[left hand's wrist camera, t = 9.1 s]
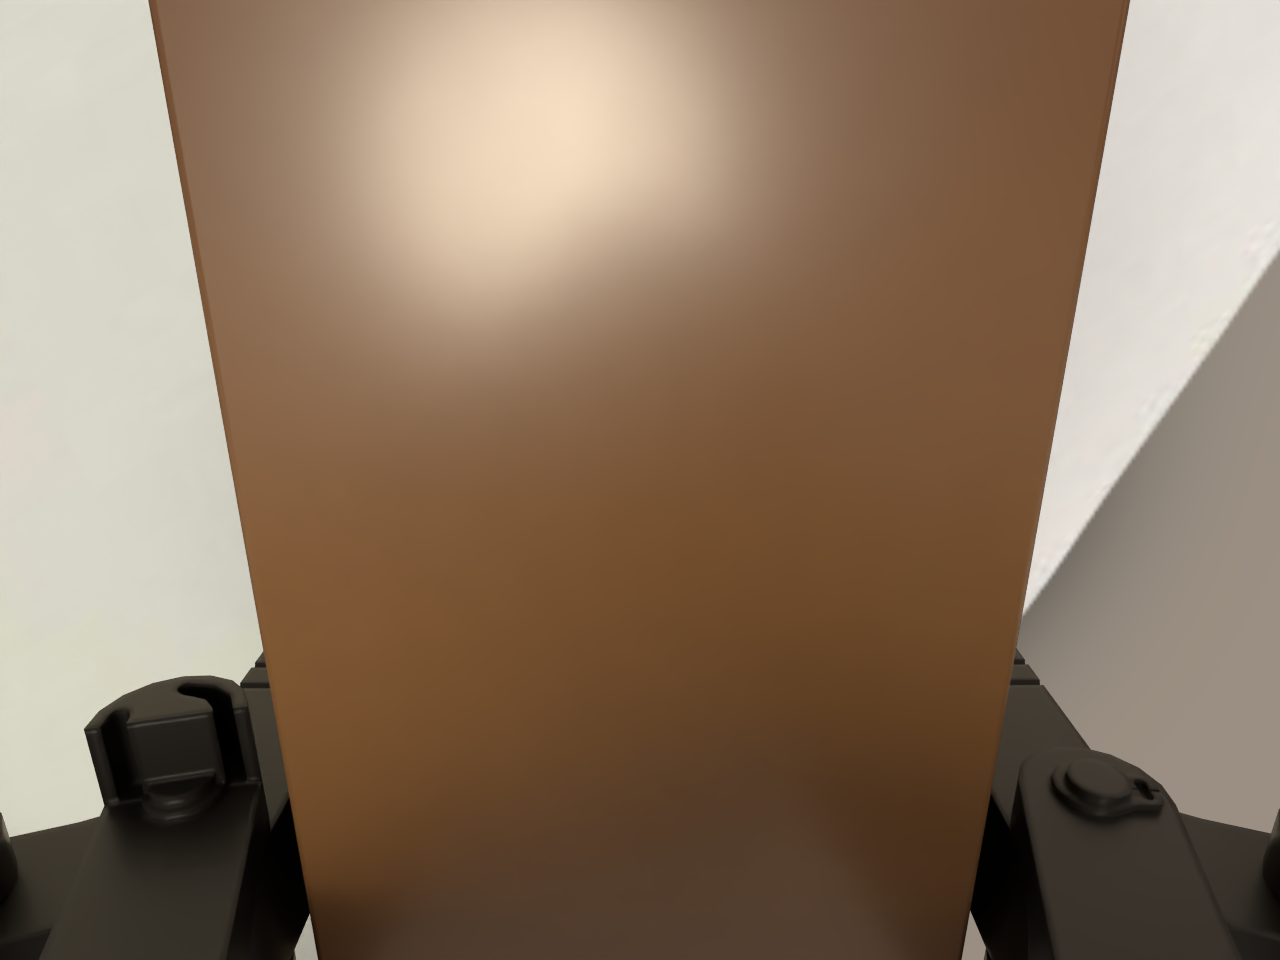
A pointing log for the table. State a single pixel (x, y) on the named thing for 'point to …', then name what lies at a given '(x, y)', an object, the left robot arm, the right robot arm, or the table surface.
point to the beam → (639, 446)
